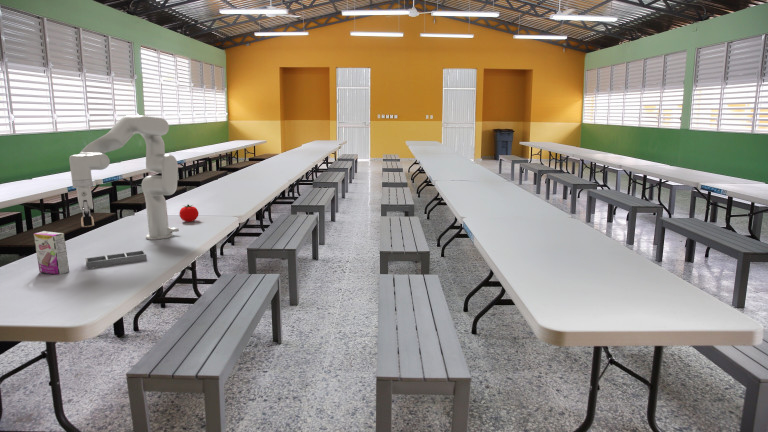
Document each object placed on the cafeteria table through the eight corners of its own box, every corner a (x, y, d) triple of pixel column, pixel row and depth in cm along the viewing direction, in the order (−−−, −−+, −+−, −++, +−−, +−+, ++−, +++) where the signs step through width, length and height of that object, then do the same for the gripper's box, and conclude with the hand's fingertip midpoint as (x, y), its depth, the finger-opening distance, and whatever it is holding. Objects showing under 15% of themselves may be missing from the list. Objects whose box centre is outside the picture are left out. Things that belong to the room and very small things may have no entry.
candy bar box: (38, 272, 213) (32, 233, 210) (49, 269, 218) (44, 230, 214) (59, 275, 209) (53, 235, 206) (70, 271, 214) (64, 232, 211)
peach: (93, 223, 234) (92, 212, 233) (94, 226, 230) (93, 214, 229) (81, 225, 232) (80, 214, 231) (81, 227, 228) (80, 216, 227)
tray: (144, 255, 236) (143, 250, 235) (146, 260, 229) (146, 254, 229) (86, 264, 224) (85, 258, 224) (87, 268, 218) (86, 262, 217)
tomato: (195, 223, 301) (193, 206, 299) (177, 223, 301) (175, 206, 299) (201, 219, 311) (200, 203, 309) (184, 219, 311) (182, 203, 309)
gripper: (93, 185, 222) (98, 227, 225) (91, 180, 236) (96, 220, 240) (72, 186, 218) (78, 229, 222) (72, 181, 232) (77, 222, 236)
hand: (87, 224), depth 231 cm, fingers closed on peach, 4 cm apart
